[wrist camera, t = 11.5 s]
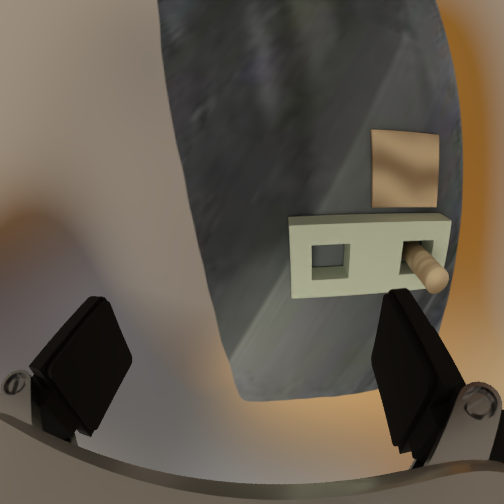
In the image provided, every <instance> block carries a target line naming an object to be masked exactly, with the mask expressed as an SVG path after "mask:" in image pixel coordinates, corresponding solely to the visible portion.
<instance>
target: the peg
mask: <svg viewBox="0 0 504 504" xmlns="http://www.w3.org/2000/svg"><path fill="white" fill-rule="evenodd" d="M401 257H402V258H403V260H404V261H405V262H406V263H407V265H408V266H409V267H410V268H411V270H412V271H413V272H414V273H415V275H416V276H417V277H418V279H419V280H420V281H421V282H422V284H423V285H424V286H425V288H426V289H427V290H428V292H430V293H432V294H435V293H439V292H440V291H442V290H443V289H444V288H445V287H446V285H447V283H448V280H449V275H448V272H447V271H446V270H445V269H444V268H443V267H442V266H441V265H440V264H439V263H438V262H437V261H436V260H435V259H434V258H433V257H432V256H431V255H430V254H429V253H428V252H427V251H426V250H425V249H424V248H423V247H422V246H421V245H420V244H419V243H418V242H417V241H403V248H402V256H401Z"/></svg>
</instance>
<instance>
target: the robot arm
mask: <svg viewBox="0 0 504 504" xmlns="http://www.w3.org/2000/svg"><path fill="white" fill-rule="evenodd" d="M371 362H372V367H373V371H374V374H375V378H376V381H377V385H378V388H379V392H380V396H381V399H382V403H383V407H384V411H385V415H386V419H387V423H388V427H389V431H390V435H391V439H392V443H393V445H394V446H398V447H399V453H400V454H402V453H406V452H410V451H411V452H412V456H413V458H414V461H413V463H412V465H411V466H410V468H409V470H405V471H400V472H395V473H390V474H385V475H380V476H374V477H368V478H361V479H354V480H346V481H335V482H325V483H313V484H312V483H311V484H282V485H281V484H246V483H233V482H222V481H213V480H206V479H198V478H192V477H186V476H180V475H174V474H169V473H165V472H160V471H156V470H151V469H147V468H143V467H140V466H135V465H132V464H129V463H125V462H122V461H119V460H115V459H112V458H109V457H106V456H103V455H100V454H97V453H94V452H91V451H89V450H86V449H83V448H81V447H79V446H78V444H77V440H76V436H75V433H74V432H75V431H76V429H77V430H78V431H79V433H81V434H84V435H87V436H90V437H91V436H92V434H93V432H94V430H97V429H98V427H99V425H100V423H101V421H102V419H103V417H104V415H105V413H106V411H107V409H108V407H109V405H110V403H111V401H112V400H113V397H114V396H115V394H116V392H117V390H118V388H119V386H120V384H121V383H122V381H123V378H124V377H125V375H126V373H127V371H128V370H129V368H130V366H131V364H132V355H131V353H130V351H129V348H128V346H127V344H126V341H125V339H124V337H123V334H122V332H121V330H120V327H119V325H118V322H117V320H116V317H115V315H114V312H113V309H112V307H111V304H110V302H108V301H107V300H106V299H105V297H96V296H91V297H89V298H88V299H87V300H86V301H85V302H84V303H83V304H82V305H81V306H80V307H79V308H78V309H77V311H76V312H75V313H74V314H73V315H72V316H71V317H70V318H69V319H68V321H67V322H66V323H65V324H64V325H63V326H62V328H60V330H59V331H58V332H57V333H56V334H55V335H54V337H53V338H52V339H51V340H50V341H49V342H48V344H47V345H46V346H45V347H44V348H43V349H42V351H41V352H40V353H39V354H38V356H37V357H36V358H35V359H34V361H33V362H32V363H31V364H30V365H29V367H30V369H31V370H32V372H33V373H34V375H33V377H31V375H30V374H29V372H28V371H26V370H21V369H20V370H16V371H14V372H11V373H10V374H9V375H8V376H7V377H6V378H5V379H4V380H3V382H2V384H1V388H0V504H504V410H502V401H501V397H500V395H499V393H498V392H497V391H496V390H495V389H494V388H493V387H492V386H491V385H488V384H486V383H483V382H472V383H470V384H467V385H466V384H465V382H464V380H463V378H462V376H461V374H460V372H459V371H458V369H457V367H456V365H455V363H454V361H453V359H452V357H451V356H450V354H449V352H448V351H447V349H446V347H445V345H444V343H443V342H442V340H441V338H440V337H439V335H438V333H437V332H436V330H435V328H434V327H433V326H431V324H430V322H429V321H428V319H427V318H426V316H425V314H424V313H423V311H422V310H421V308H420V306H419V305H418V303H417V302H416V300H415V299H414V297H413V296H412V294H411V293H410V291H409V290H408V289H407V288H399V289H391V290H389V292H388V294H385V295H384V296H383V301H382V307H381V313H380V318H379V324H378V329H377V334H376V338H375V343H374V347H373V352H372V357H371Z"/></svg>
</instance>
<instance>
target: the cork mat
mask: <svg viewBox="0 0 504 504" xmlns="http://www.w3.org/2000/svg"><path fill="white" fill-rule="evenodd" d="M371 157H372V195H371V207H436V206H437V193H438V175H439V135H435V134H426V133H416V132H405V131H391V130H372V129H371Z"/></svg>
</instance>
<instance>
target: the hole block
mask: <svg viewBox="0 0 504 504" xmlns="http://www.w3.org/2000/svg"><path fill="white" fill-rule="evenodd" d="M288 222H289V242H290V267H291V292H292V298H312V297H330V296H345V295H360V294H373V293H385V292H389V290H391V289H399V288H407V289H408V290H417V289H426V288H425V286H424V285H423V284H422V282H421V281H420V280H419V279H418V277H417V276H416V275H415V273H414V272H413V271H412V270H411V268H410V267H409V266H408V265H407V263H406V262H401V256H402V248H403V241H421V240H422V244H421V246H422V247H423V248H424V249H425V250H426V251H427V252H428V253H429V254H430V255H431V256H432V257H433V258H434V259H435V260H436V261H437V262H438V263H439V264H440V265H441V266H442V267H443V268H444V265H445V259H446V254H447V248H448V242H449V236H450V229H451V222H452V221H451V220H450V219H448V218H447V217H445V216H444V215H442V214H440V213H385V214H347V215H319V216H296V217H288ZM331 244H344V263H343V266H333V267H314V268H312V245H331Z"/></svg>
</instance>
